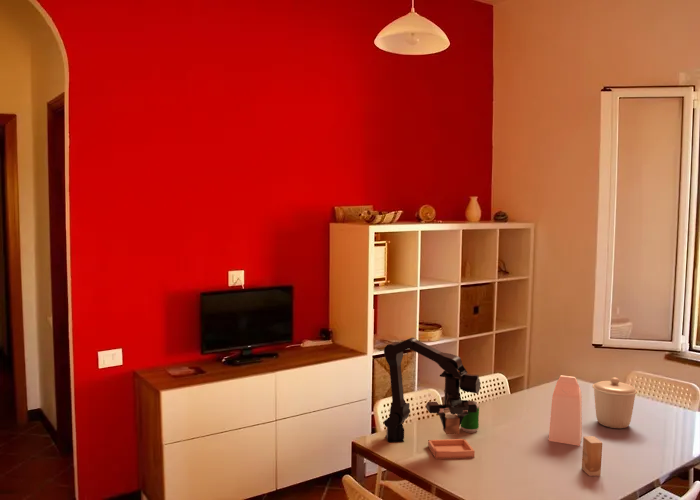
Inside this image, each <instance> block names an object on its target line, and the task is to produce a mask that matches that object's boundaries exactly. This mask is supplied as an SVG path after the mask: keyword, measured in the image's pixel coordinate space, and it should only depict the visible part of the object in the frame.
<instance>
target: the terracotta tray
mask: <svg viewBox="0 0 700 500" xmlns="http://www.w3.org/2000/svg"><path fill="white" fill-rule="evenodd" d="M427 447H428V448H429V450H430V451H431V454H432V455H433V457H434V458H435V460H438V459H467V458H471V459H472V458H475V452H476V451H475V450H474V448H473V446H471V445H470V443H469V442H468V441H467V439H466V438H458V439H457V438H456V439H455V438H453V439H452V438H451V439H450V438H449V439H429V440H428V441H427Z"/></svg>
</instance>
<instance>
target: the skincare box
mask: <svg viewBox="0 0 700 500" xmlns="http://www.w3.org/2000/svg"><path fill="white" fill-rule="evenodd" d="M582 437H583V438H582V439H583V440H582V454H581V455H582V456H581V470H582V471H584V472H585V474H587V475H588V476H590V477H594V476H595V477H597V476H598V477H600V476H601V475H602V474H601V473H602V460H603V459H602V456H603V455H602V454H603V442H602V441H601V440H599V438H597V437H596V436H594V435H593V436H592V435H591V436H589V435H588V436H586V435H585V436H582Z"/></svg>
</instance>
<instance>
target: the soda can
mask: <svg viewBox="0 0 700 500" xmlns="http://www.w3.org/2000/svg"><path fill="white" fill-rule="evenodd" d="M467 400H468V401H471V400H469V399H467ZM472 401H473V402H474V403H475V404H476V405H477V412H469V411H468V413H469V414H467V415H465V416H464V418H463V420H462V422H461V424H460V429H462V431H463V432H465V433H470V434H471V433H476V432H477V431H478V430H479V428H480V427H479V426H480V424H479V423H480V405H479V403H478V402H477V401H475V400H472Z"/></svg>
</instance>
